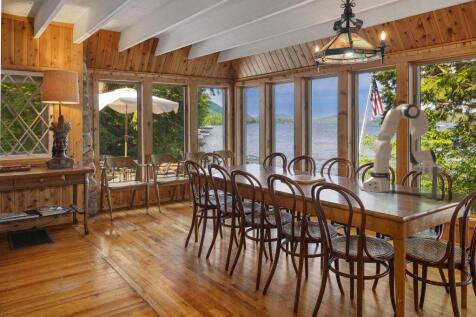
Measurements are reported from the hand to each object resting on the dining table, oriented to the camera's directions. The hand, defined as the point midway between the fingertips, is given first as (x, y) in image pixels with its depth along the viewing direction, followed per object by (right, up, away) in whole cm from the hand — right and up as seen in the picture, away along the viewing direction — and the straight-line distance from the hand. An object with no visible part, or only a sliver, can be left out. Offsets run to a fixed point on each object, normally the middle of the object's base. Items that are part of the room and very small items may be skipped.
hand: (427, 170), depth 276 cm
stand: (-1, -19, -12) cm, 22 cm away
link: (0, -7, +1) cm, 7 cm away
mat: (-1, -18, 0) cm, 18 cm away
